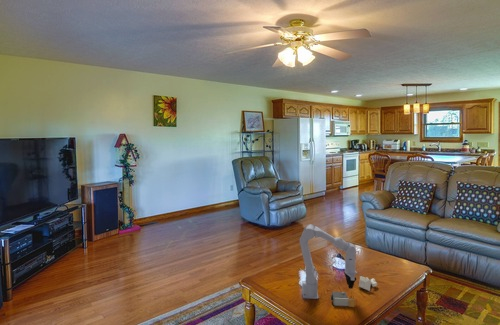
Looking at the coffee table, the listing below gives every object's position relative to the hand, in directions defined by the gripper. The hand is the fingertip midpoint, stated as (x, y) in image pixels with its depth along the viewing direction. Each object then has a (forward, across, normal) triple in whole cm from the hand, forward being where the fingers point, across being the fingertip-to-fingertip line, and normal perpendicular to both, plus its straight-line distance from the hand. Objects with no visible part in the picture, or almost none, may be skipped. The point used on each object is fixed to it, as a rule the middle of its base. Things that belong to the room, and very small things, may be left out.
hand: (349, 286), depth 179 cm
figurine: (+5, +13, -10) cm, 17 cm away
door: (+9, -5, +5) cm, 12 cm away
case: (+9, -2, +6) cm, 11 cm away
